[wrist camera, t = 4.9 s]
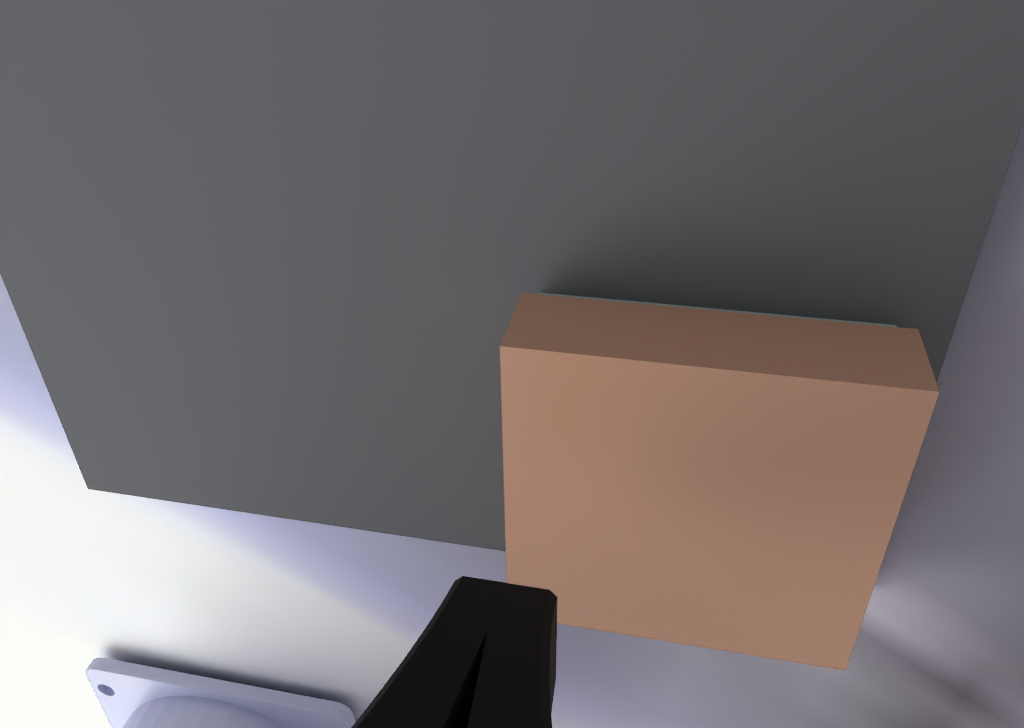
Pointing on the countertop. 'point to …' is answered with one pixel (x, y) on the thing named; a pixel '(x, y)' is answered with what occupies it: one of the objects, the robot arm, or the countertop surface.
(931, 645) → the countertop surface
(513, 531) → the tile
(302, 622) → the countertop surface
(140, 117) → the mat
